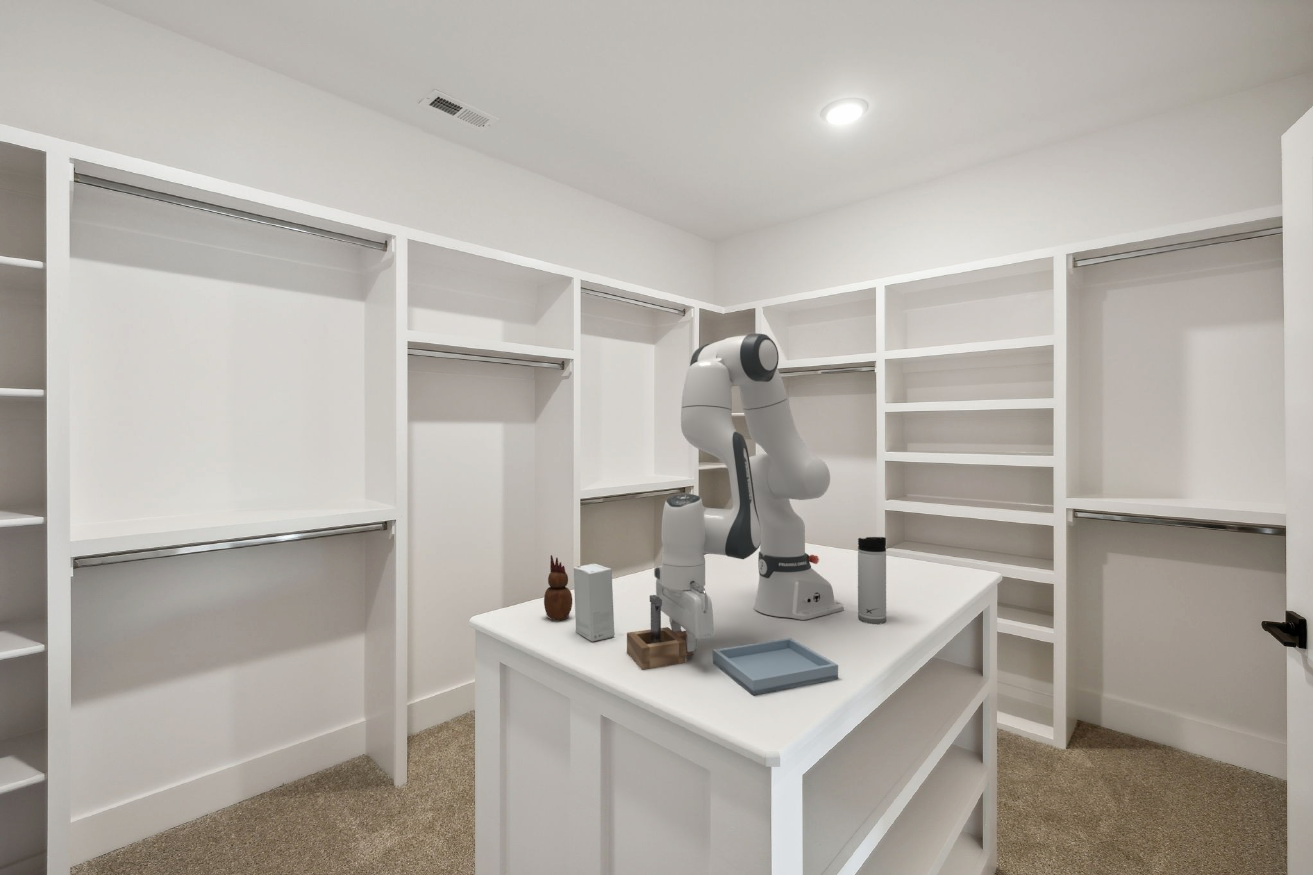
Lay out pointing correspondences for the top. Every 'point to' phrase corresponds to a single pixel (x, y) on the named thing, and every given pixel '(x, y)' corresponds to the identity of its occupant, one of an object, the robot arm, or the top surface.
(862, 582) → the travel mug
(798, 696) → the top surface
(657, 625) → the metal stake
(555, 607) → the wooden figurine
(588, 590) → the skincare box
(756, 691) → the slate-blue tray
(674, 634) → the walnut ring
